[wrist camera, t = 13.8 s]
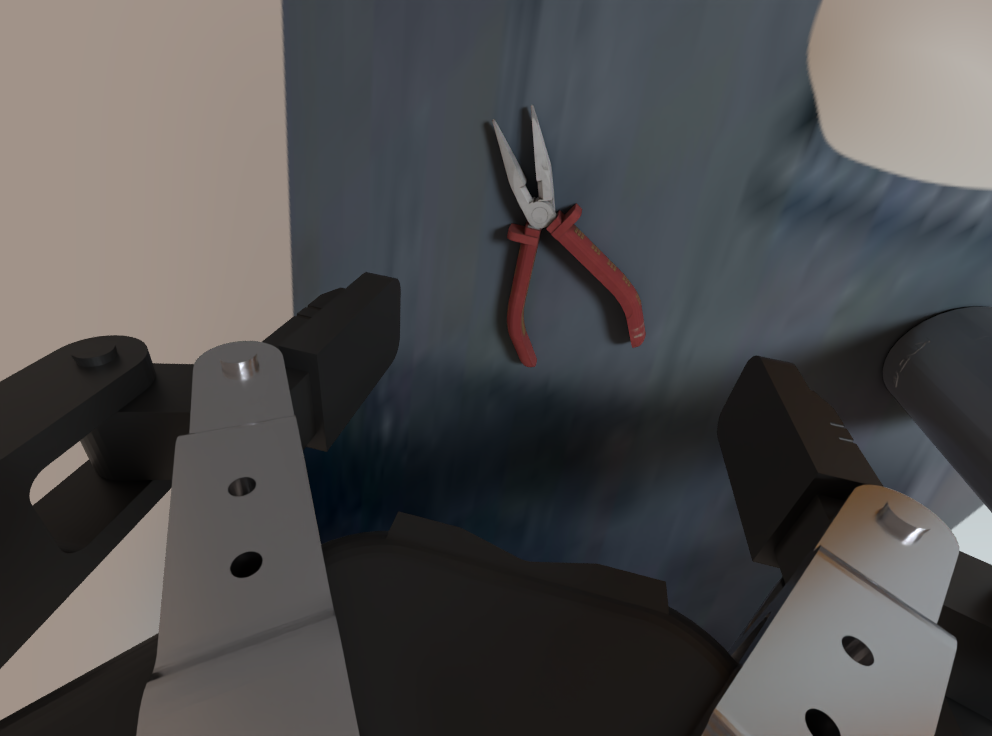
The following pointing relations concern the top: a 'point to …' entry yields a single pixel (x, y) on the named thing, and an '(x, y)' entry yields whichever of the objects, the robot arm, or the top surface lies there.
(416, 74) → the top surface
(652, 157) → the top surface
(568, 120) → the top surface
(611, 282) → the pliers
